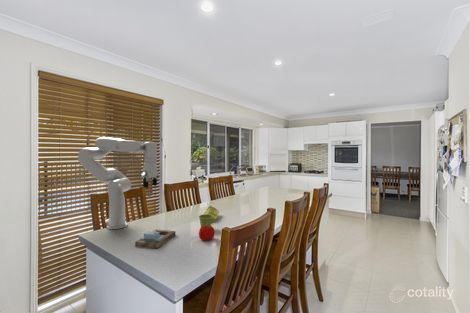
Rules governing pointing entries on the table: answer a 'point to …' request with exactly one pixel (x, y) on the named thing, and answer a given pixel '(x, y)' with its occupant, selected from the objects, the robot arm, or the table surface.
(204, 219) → the plant pot
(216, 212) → the plastic component
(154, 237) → the light blue drawer box
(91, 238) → the table surface
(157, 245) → the tray
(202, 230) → the tomato
